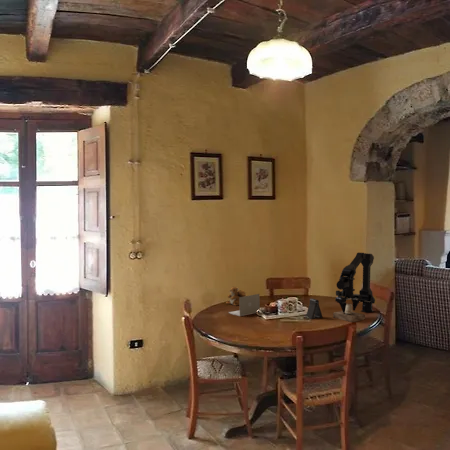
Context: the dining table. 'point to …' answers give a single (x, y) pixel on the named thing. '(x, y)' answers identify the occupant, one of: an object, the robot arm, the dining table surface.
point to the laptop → (247, 305)
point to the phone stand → (314, 309)
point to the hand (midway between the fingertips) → (348, 311)
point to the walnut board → (349, 316)
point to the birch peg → (348, 309)
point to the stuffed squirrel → (235, 296)
